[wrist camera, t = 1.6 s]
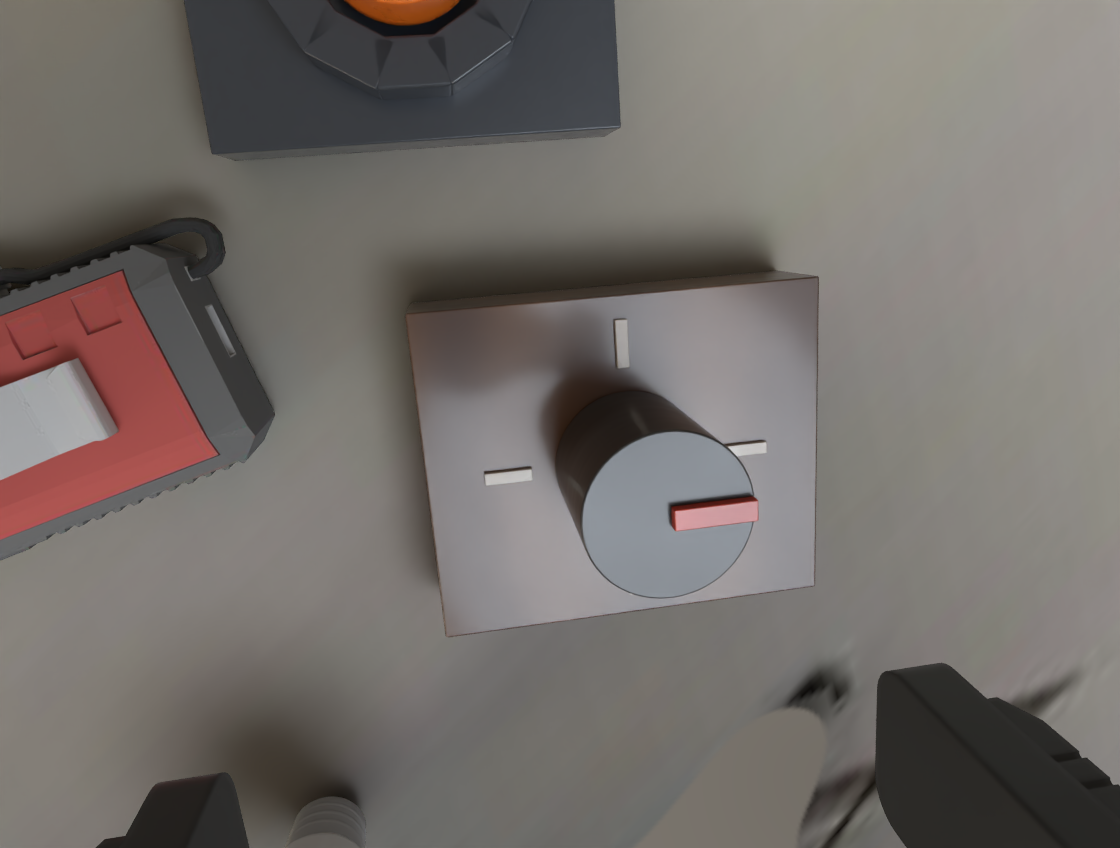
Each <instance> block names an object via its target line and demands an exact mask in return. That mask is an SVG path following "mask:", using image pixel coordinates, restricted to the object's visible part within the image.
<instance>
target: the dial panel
mask: <svg viewBox="0 0 1120 848" xmlns="http://www.w3.org/2000/svg"><path fill="white" fill-rule="evenodd" d="M818 295H819V277H818V276H812V275H804V274H797V273H790V272H783V271H766V272H755V273H744V274H733V275H721V276H710V277H699V278H688V279H676V280H665V281H654V282H643V283H631V284H620V285H609V286H598V287H586V288H575V289H564V290H552V291H541V292H530V293H519V294H507V295H496V296H485V297H474V298H462V299H451V300H440V301H429V302H417V303H411V304H410V305H409V307H408V310H407V312H406V314H405V319H406V327H407V335H408V343H409V351H410V359H411V367H412V375H413V382H414V390H415V398H416V406H417V414H418V422H419V430H420V437H421V445H422V453H423V461H424V469H425V477H426V485H427V493H428V500H429V508H430V516H431V524H432V532H433V540H434V548H435V556H436V563H437V571H438V579H439V587H440V595H441V603H442V611H443V619H444V626H445V634H446V637H453V636H460V635H467V634H475V633H482V632H489V631H496V630H503V629H510V628H518V627H525V626H532V625H539V624H546V623H554V622H561V621H568V620H575V619H582V618H590V617H597V616H604V615H611V614H618V613H626V612H633V611H640V610H647V609H654V608H662V607H669V606H676V605H683V604H690V603H697V602H705V601H712V600H719V599H726V598H733V597H741V596H748V595H755V594H762V593H769V592H777V591H784V590H791V589H798V588H805V587H813V586H815V539H816V458H817V376H818ZM624 391H640V392H647V393H651V394H655V395H657V396H660V397H662V398H664V399H666V400H668V401H670V402H671V403H672V404H674V405H675V406H676V407H678V408H679V409H680V410H681V411H683V412H684V413H685V414H686V415H688V416H689V417H690V418H692V419H693V420H694V421H695V422H697V423H698V424H699V425H700V426H702V427H703V428H704V429H705V430H707V431H708V432H709V433H710V434H712V435H713V436H714V437H715V438H717V439H718V440H719V441H720V442H722V443H723V444H724V445H725V446H727V447H728V448H729V449H730V450H731V451H732V452H733V453H734V454H735V455H736V456H737V457H738V458H739V460H740V461H741V462H742V464H743V465H744V467H745V469H746V471H747V473H748V475H749V477H750V480H751V483H752V486H753V491H754V497H755V498H756V499H757V500H758V521H754V522H753V527H752V531H751V534H750V537H749V539H748V541H747V544H746V546H745V548H744V550H743V551H742V553H741V554H740V556H739V558H738V559H737V560H736V561H735V563H734V564H733V565H732V566H731V567H730V568H729V569H728V570H727V571H726V572H725V573H724V574H723V575H722V576H721V577H719V578H718V579H717V580H716V581H714V582H713V583H711V584H709V585H708V586H706V587H704V588H702V589H700V590H698V591H696V592H693V593H690V594H687V595H684V596H679V597H674V598H663V599H659V598H647V597H641V596H637V595H634V594H631V593H628V592H626V591H624V590H622V589H620V588H618V587H616V586H615V585H613V584H612V583H610V582H609V581H608V580H607V579H606V578H604V577H603V576H602V575H601V574H600V573H599V571H598V570H597V569H596V568H595V567H594V565H593V563H592V562H591V560H590V559H589V557H588V554H587V552H586V550H585V548H584V545H583V543H582V541H581V538H580V536H579V534H578V531H577V529H576V527H575V524H574V522H573V519H572V517H571V515H570V512H569V510H568V508H567V505H566V503H565V500H564V498H563V496H562V493H561V491H560V488H559V485H558V481H557V476H556V456H557V451H558V447H559V443H560V441H561V438H562V436H563V434H564V432H565V430H566V428H567V427H568V425H569V424H570V423H571V421H572V420H573V419H574V417H575V416H576V415H577V414H578V413H579V412H580V411H582V410H583V409H584V408H585V407H586V406H588V405H589V404H591V403H592V402H594V401H596V400H598V399H600V398H602V397H604V396H607V395H610V394H613V393H618V392H624Z"/></svg>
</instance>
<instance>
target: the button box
mask: <svg viewBox="0 0 1120 848" xmlns="http://www.w3.org/2000/svg"><path fill="white" fill-rule="evenodd" d="M184 5H185V10H186V16H187V21H188V27H189V32H190V38H191V43H192V49H193V54H194V60H195V65H196V71H197V76H198V82H199V87H200V93H201V98H202V103H203V109H204V114H205V120H206V125H207V131H208V136H209V142H210V147H211V153H212V154H214V155H217V156H221V157H224V158H227V159H231V160H234V161H240V160H255V159H270V158H285V157H300V156H315V155H331V154H346V153H361V152H376V151H391V150H406V149H422V148H437V147H452V146H467V145H482V144H497V143H512V142H528V141H543V140H558V139H573V138H588V137H603V136H606V135H608V134H610V133H611V132H613V131H615V130H617V129H618V128H620V127H621V122H620V102H619V83H618V63H617V44H616V24H615V4H614V0H460V1H459V2H458V3H457V5H455V6H454V7H453V8H452V9H451V10H450V11H448V12H447V13H445V14H444V15H442V16H440V17H439V18H436V19H434V20H432V21H430V22H426V23H422V24H419V25H410V26H397V25H391V24H385V23H382V22H379V21H376V20H373V19H371V18H369V17H367V16H365V15H363V14H361V13H360V12H358V11H357V10H355V9H354V8H352V7H351V6H350V5H349V4H347V3H346V2H345V1H344V0H184Z"/></svg>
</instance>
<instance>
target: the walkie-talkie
mask: <svg viewBox="0 0 1120 848" xmlns="http://www.w3.org/2000/svg"><path fill="white" fill-rule="evenodd" d="M184 232H196V233H199V234H201V235H202V236H203V237H204V238H205V241H206V246H207V254H206V256H205V257H204V258H203V259H201V260H200V261H199V260H198V258H197V256H196V255H194V254H191V253H189V252H186V251H184V250H181V249H179V248H176V247H173V246H171V245H168V244H166V243H158V244H152V243H155V242H158V241H160V240H163V239H166V238H168V237H171V236H174V235H176V234H179V233H184ZM225 253H226V252H225V247H224V242H223V237H222V233H221V232H220V231H219V230H218V229H217V227H216V226H215V225H214V224H212V223H210V222H208V221H207V220H204V219H199V218H191V217H190V218H176V219H171V220H168V221H165V222H163V223H160V224H158V225H155V226H152V227H150V228H147V229H144V230H142V231H139V232H136V233H134V234H131V235H128V236H126V237H123V238H120V239H118V240H115V241H112V242H110V243H107V244H104V245H102V246H99V247H96V248H94V249H91V250H88V251H86V252H83V253H80V254H78V255H75V256H73V257H70V258H67V259H64V260H61V261H58V262H55V263H52V264H49V265H46V266H43V267H40V268H37V269H34V270H28V269H20V268H10V269H2V268H1V266H0V560H3V559H5V558H8V557H10V556H13V555H15V554H18V553H20V552H23V551H26V550H28V549H30V548H32V547H33V546H34V545H36V544H37V543H39V542H42V541H44V540H47V539H48V538H50V537H51V536H52V535H53V534H55V533H56V532H57V533H59V534H62V533H64V532H66V531H67V530H69V529H70V528H71V527H73V526H74V525H76V526H78V527H80V526H82V525H84V524H86V523H87V522H88V521H89V520H91V519H92V518H95V519H97V520H98V519H100V518H103V517H104V516H105V515H106V514H107V513H109V512H110V511H113V512H115V513H116V512H118V511H121V510H122V509H123V508H124V507H125V506H126V505H128V504H132V505H136V504H139V503H140V502H141V501H142V500H143V499H144V498H146V497H150V498H154V497H157V496H158V495H159V494H160V493H161V492H162V491H164V490H166V489H167V490H169V491H172V490H175V489H176V488H177V487H178V486H179V485H180V484H182V483H184V482H185V483H187V484H190V483H193V482H194V481H195V480H196V479H197V478H198V477H200V476H202V475H204V476H205V477H208V476H211V475H212V474H213V473H214V472H215V471H216V470H218V469H220V468H222V469H224V470H226V469H229V468H230V467H231V466H232V465H233V464H234V463H236V462H238V461H240V462H242V463H244V462H245V461H246V460H247V459H248V458H249V457H250V456H251V454H252V453H253V452H254V451H255V450H256V449H257V447H258V446H259V445H260V444H261V443H262V442H263V441H264V439H265V436H266V434H267V432H268V429H269V427H270V425H271V423H272V420H273V418H274V416H275V414H274V412H273V410H272V407H271V405H270V403H269V401H268V399H267V397H266V395H265V393H264V391H263V389H262V387H261V385H260V383H259V381H258V379H257V377H256V375H255V373H254V371H253V369H252V367H251V365H250V363H249V361H248V359H247V357H246V355H245V353H244V351H243V349H242V347H241V345H240V343H239V341H238V339H237V337H236V335H235V333H234V331H233V329H232V327H231V325H230V322H229V320H228V318H227V316H226V314H225V312H224V310H223V308H222V306H221V304H220V302H219V300H218V298H217V296H216V294H215V292H214V290H213V288H212V286H211V284H210V282H209V280H208V278H207V276H206V275H207V274H209V273H211V272H213V271H214V270H215V269H216V268H217V267H219V266H220V265H221V264H222V262H223V259H224V256H225ZM10 283H18V284H27V285H30V284H31V286H30V287H24V288H17V289H14V290H11V294H9V292H8V290H7V288H10V287H12V286H11V284H10Z"/></svg>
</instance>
